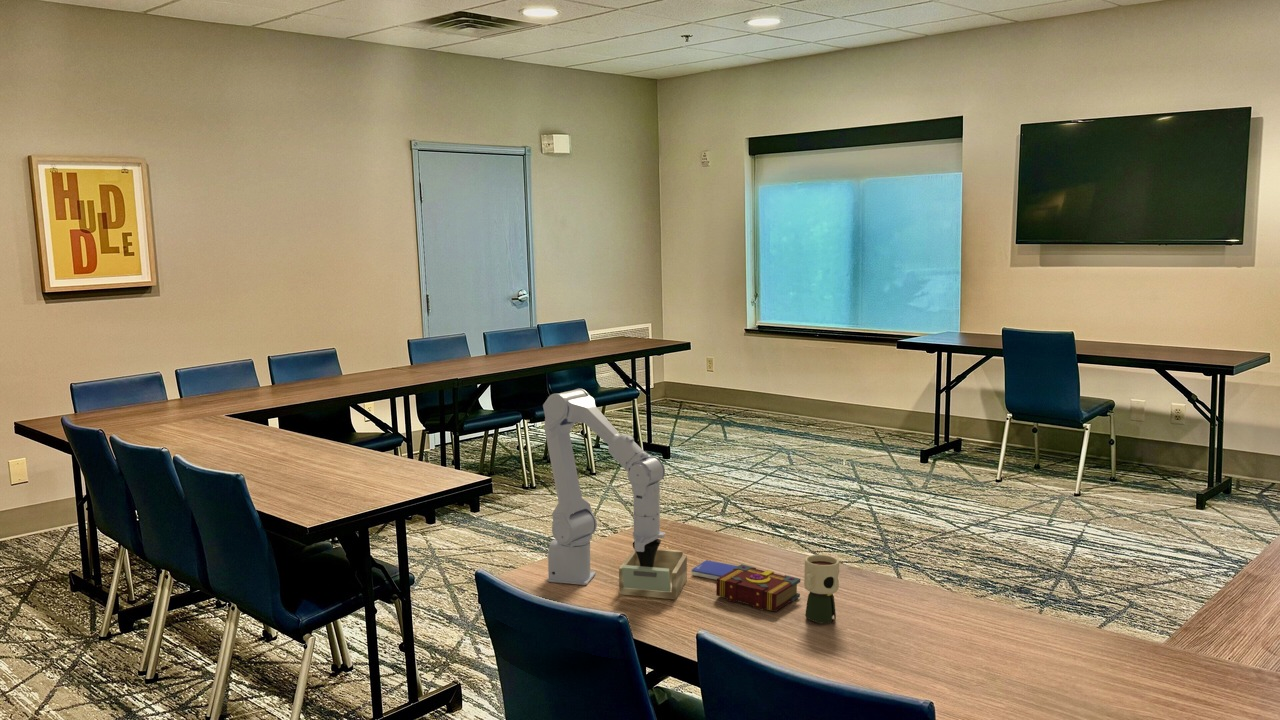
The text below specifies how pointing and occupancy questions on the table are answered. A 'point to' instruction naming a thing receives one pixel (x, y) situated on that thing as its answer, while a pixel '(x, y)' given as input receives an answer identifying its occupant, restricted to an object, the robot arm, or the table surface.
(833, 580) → the character mug
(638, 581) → the panel
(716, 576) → the hard drive
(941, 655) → the table surface
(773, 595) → the decorative book
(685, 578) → the crate
